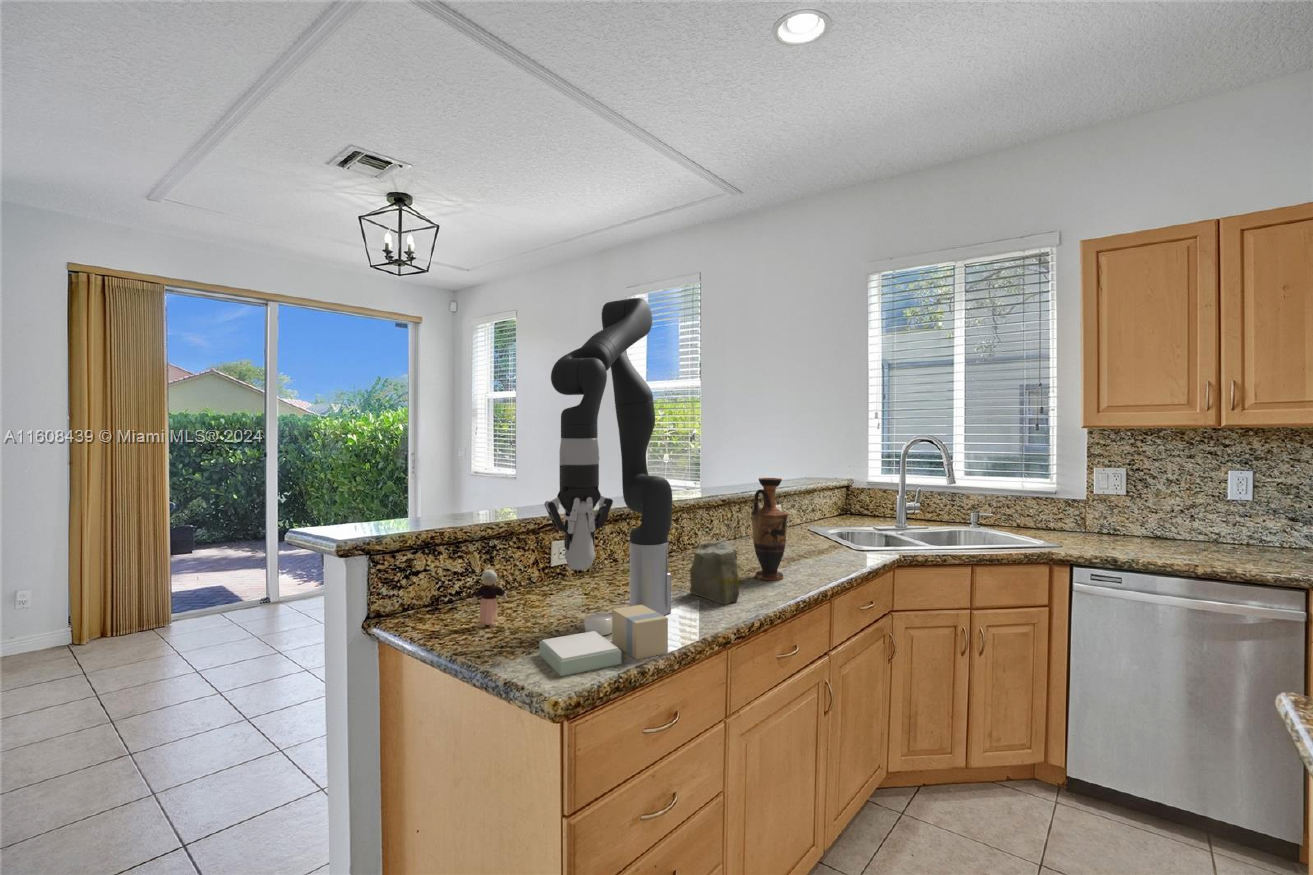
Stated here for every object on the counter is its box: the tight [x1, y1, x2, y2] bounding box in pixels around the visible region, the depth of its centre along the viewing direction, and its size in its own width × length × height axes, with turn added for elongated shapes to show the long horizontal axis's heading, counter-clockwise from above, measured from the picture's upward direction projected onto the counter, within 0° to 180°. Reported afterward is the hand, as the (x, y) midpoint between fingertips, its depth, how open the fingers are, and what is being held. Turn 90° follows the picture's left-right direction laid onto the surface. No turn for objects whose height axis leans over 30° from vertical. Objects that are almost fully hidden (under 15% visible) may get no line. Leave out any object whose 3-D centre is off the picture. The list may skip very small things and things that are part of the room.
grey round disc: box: [583, 613, 612, 637], centre depth 134 cm, size 6×6×3 cm
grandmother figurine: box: [471, 569, 508, 629], centre depth 138 cm, size 8×4×13 cm, turn 112°
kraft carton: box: [611, 605, 669, 661], centre depth 124 cm, size 7×11×7 cm, turn 29°
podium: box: [539, 631, 622, 677], centre depth 118 cm, size 12×12×3 cm
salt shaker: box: [564, 501, 596, 571], centre depth 118 cm, size 6×6×13 cm
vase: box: [750, 477, 789, 581], centre depth 184 cm, size 11×11×30 cm
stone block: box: [689, 538, 740, 605], centre depth 163 cm, size 10×15×15 cm
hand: (579, 551), depth 118 cm, fingers closed on salt shaker, 3 cm apart
